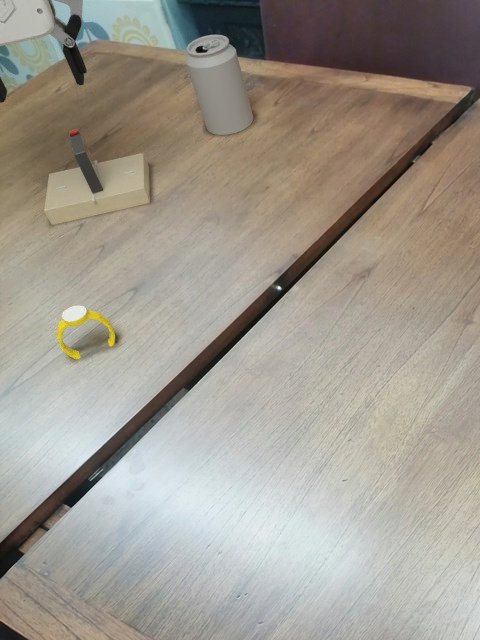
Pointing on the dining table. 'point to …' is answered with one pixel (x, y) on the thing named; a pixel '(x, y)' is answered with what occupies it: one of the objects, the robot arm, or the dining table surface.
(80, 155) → the grey block
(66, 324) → the watch
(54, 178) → the tan rectangular block
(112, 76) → the dining table surface
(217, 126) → the can
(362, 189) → the dining table surface
